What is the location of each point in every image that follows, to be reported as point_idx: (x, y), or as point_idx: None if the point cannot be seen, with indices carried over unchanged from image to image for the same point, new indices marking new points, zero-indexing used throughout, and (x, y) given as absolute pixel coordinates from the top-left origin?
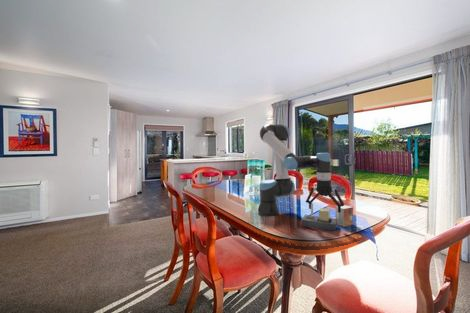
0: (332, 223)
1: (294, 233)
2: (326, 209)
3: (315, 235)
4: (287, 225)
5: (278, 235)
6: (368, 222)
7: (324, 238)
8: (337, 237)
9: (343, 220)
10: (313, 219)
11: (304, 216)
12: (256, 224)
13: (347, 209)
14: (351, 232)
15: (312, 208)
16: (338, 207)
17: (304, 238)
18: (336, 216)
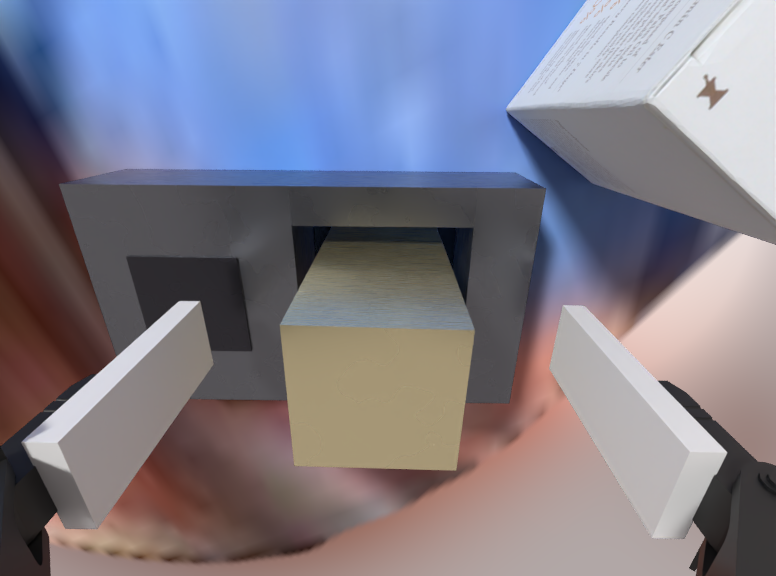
0: (481, 382)
1: (200, 495)
2: (412, 366)
3: (347, 472)
4: (55, 380)
5: (129, 551)
6: None
7: (415, 491)
8: (504, 447)
9: (633, 194)
10: (251, 341)
11: (99, 274)
12: None
13: None
14: (638, 307)
15: (152, 419)
16: (693, 503)
17: (293, 532)
18: (552, 118)
